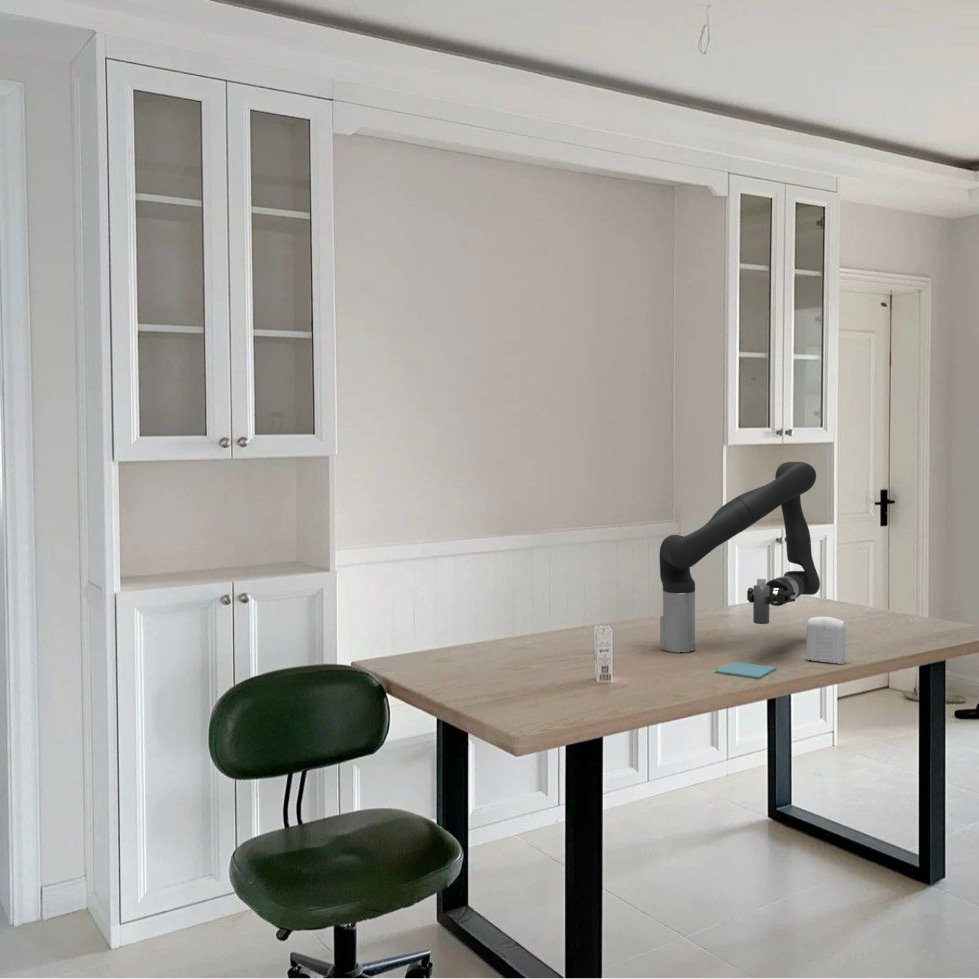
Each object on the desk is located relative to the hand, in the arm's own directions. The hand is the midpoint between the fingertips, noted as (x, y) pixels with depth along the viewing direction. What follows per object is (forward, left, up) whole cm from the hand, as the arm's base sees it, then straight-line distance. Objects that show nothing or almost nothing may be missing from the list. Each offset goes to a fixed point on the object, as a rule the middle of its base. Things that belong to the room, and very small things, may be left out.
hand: (758, 599), depth 278 cm
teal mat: (0, -9, -18) cm, 20 cm away
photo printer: (+14, +13, -18) cm, 26 cm away
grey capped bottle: (0, +2, -7) cm, 7 cm away
